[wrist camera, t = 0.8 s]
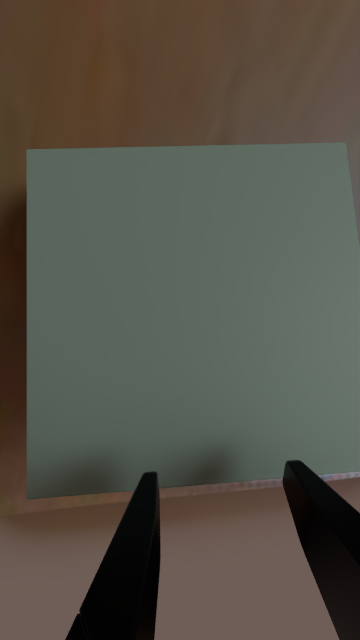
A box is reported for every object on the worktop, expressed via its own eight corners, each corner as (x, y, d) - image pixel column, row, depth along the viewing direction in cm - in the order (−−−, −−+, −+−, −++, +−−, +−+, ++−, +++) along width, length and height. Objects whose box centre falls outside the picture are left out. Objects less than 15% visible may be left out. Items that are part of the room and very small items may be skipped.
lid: (332, 158, 13) (345, 142, 12) (370, 459, 12) (388, 468, 11) (37, 165, 12) (27, 149, 11) (39, 486, 11) (27, 499, 10)
